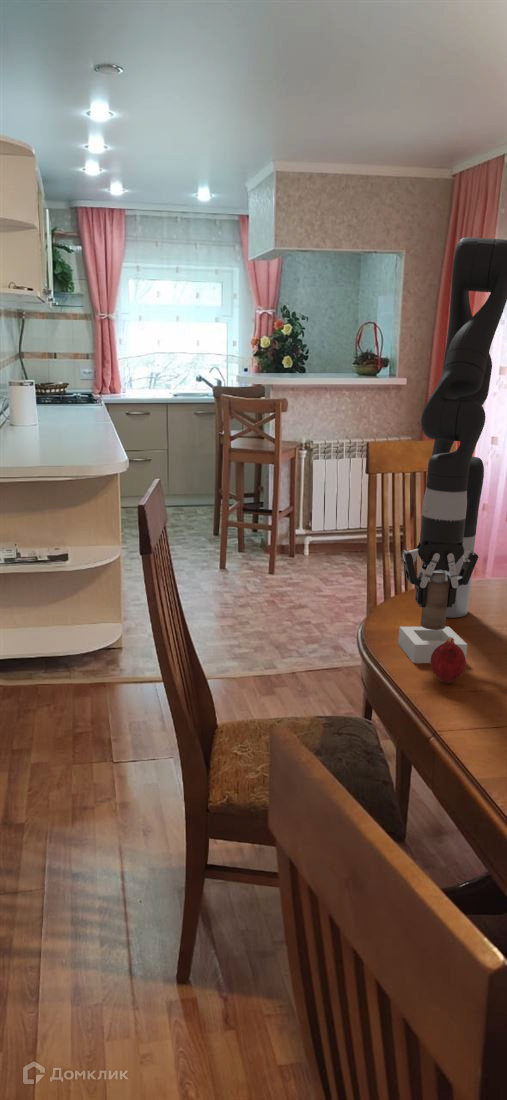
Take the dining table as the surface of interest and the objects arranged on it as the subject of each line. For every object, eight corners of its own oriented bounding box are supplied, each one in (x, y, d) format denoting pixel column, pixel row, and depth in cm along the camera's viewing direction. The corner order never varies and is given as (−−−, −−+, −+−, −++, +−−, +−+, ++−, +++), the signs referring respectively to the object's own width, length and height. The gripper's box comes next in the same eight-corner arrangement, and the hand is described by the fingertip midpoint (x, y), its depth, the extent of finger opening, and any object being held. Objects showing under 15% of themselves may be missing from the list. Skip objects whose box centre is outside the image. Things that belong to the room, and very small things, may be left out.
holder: (398, 644, 158) (399, 626, 157) (447, 644, 160) (448, 626, 159) (413, 663, 149) (415, 644, 148) (465, 662, 150) (467, 644, 149)
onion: (464, 691, 137) (469, 645, 136) (428, 687, 139) (432, 642, 137) (463, 678, 143) (467, 634, 141) (428, 674, 144) (432, 630, 142)
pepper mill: (423, 620, 156) (428, 568, 154) (447, 624, 154) (452, 572, 152) (418, 627, 152) (423, 574, 150) (442, 631, 150) (448, 577, 148)
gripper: (410, 517, 144) (402, 613, 148) (490, 519, 145) (480, 613, 150) (398, 508, 151) (390, 599, 155) (475, 510, 153) (465, 600, 157)
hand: (434, 605), depth 152 cm, fingers closed on pepper mill, 4 cm apart
